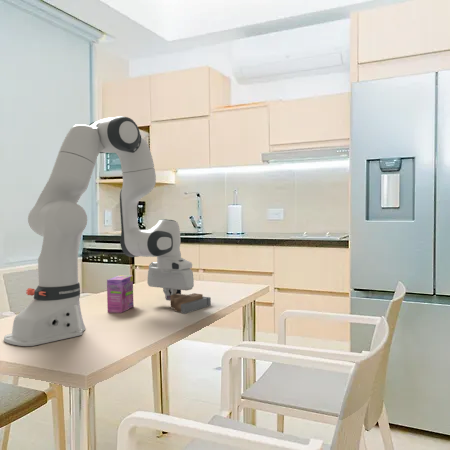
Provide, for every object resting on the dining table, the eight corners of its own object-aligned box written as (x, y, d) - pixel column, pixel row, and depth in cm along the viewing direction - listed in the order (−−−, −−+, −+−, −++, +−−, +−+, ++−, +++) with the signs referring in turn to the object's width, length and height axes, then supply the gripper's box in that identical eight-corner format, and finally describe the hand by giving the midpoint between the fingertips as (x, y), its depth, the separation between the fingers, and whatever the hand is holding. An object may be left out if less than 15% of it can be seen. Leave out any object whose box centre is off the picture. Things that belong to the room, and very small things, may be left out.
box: (122, 313, 158) (121, 279, 157) (107, 312, 159) (106, 279, 158) (134, 306, 168) (133, 275, 167) (119, 306, 169) (118, 275, 168)
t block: (164, 309, 161) (163, 297, 161) (184, 303, 170) (183, 292, 170) (183, 312, 156) (182, 299, 156) (202, 306, 165) (202, 294, 165)
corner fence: (184, 313, 154) (184, 304, 154) (164, 310, 160) (163, 302, 160) (210, 305, 167) (210, 297, 167) (190, 302, 172) (190, 295, 172)
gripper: (143, 262, 170) (144, 299, 170) (184, 265, 158) (185, 304, 158) (154, 260, 175) (155, 296, 175) (195, 263, 163) (196, 301, 164)
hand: (170, 300), depth 167 cm, fingers closed
